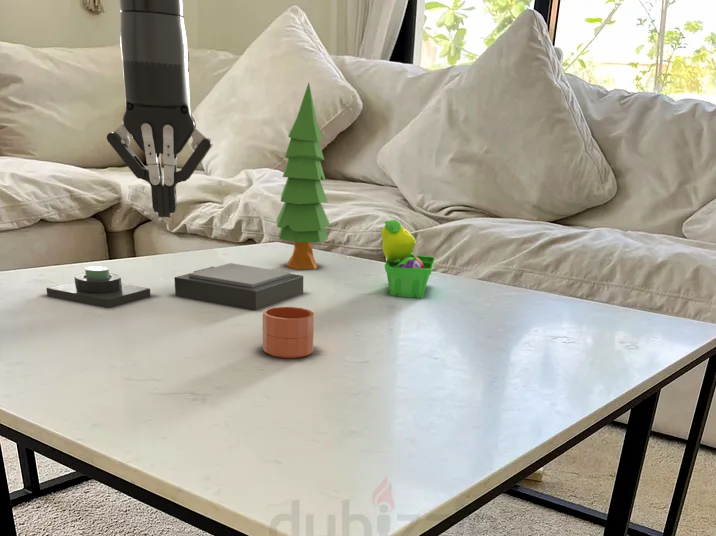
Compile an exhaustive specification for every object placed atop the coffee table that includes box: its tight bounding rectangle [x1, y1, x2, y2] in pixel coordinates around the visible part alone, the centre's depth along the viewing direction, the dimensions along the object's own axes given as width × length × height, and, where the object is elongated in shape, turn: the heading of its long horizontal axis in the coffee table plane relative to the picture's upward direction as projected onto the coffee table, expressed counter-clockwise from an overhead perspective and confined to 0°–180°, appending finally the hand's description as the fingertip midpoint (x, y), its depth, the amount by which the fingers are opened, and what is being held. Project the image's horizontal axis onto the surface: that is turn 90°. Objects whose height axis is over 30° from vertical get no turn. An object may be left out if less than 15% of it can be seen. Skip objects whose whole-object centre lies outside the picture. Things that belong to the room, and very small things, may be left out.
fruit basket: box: [381, 219, 436, 299], centre depth 127 cm, size 11×9×11 cm
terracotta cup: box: [262, 306, 315, 359], centre depth 94 cm, size 6×6×5 cm
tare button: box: [84, 265, 110, 280], centre depth 112 cm, size 3×3×2 cm
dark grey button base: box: [46, 272, 152, 309], centre depth 113 cm, size 11×9×3 cm
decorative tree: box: [275, 82, 330, 270], centre depth 136 cm, size 10×9×30 cm
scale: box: [173, 262, 304, 311], centre depth 119 cm, size 14×14×4 cm
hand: (165, 216), depth 100 cm, fingers closed
